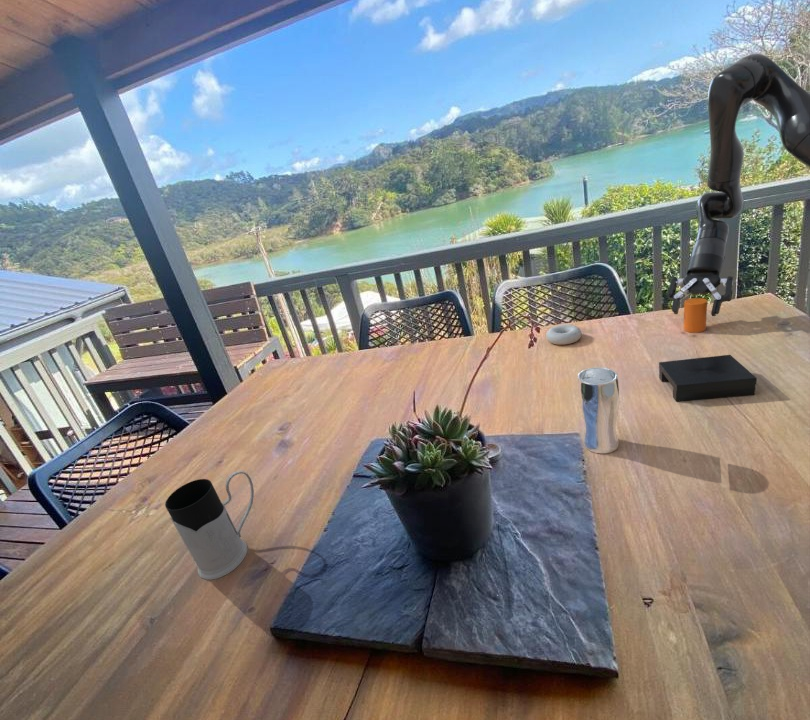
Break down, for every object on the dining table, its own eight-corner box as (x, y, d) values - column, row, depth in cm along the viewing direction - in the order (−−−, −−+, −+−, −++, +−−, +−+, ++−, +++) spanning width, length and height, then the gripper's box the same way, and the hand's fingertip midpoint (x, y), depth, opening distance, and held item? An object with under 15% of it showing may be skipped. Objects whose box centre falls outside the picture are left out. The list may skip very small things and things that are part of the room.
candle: (701, 324, 119) (702, 296, 116) (709, 331, 114) (710, 302, 111) (680, 327, 120) (681, 299, 117) (687, 333, 116) (688, 305, 113)
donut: (545, 335, 135) (547, 348, 127) (544, 325, 134) (546, 337, 125) (579, 331, 132) (584, 344, 124) (579, 321, 131) (583, 333, 122)
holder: (191, 563, 79) (154, 500, 73) (260, 514, 87) (232, 453, 81) (208, 588, 72) (170, 521, 67) (281, 533, 81) (253, 468, 75)
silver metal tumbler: (585, 431, 88) (580, 365, 82) (623, 436, 84) (621, 367, 78) (578, 452, 83) (572, 383, 77) (618, 458, 79) (616, 386, 73)
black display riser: (728, 370, 96) (730, 354, 95) (755, 395, 86) (756, 377, 85) (658, 377, 100) (658, 362, 98) (676, 402, 90) (676, 385, 89)
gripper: (674, 253, 120) (660, 307, 117) (738, 250, 110) (725, 309, 107) (678, 266, 125) (666, 318, 122) (740, 265, 115) (728, 321, 112)
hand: (693, 314), depth 115 cm, fingers open, 8 cm apart
